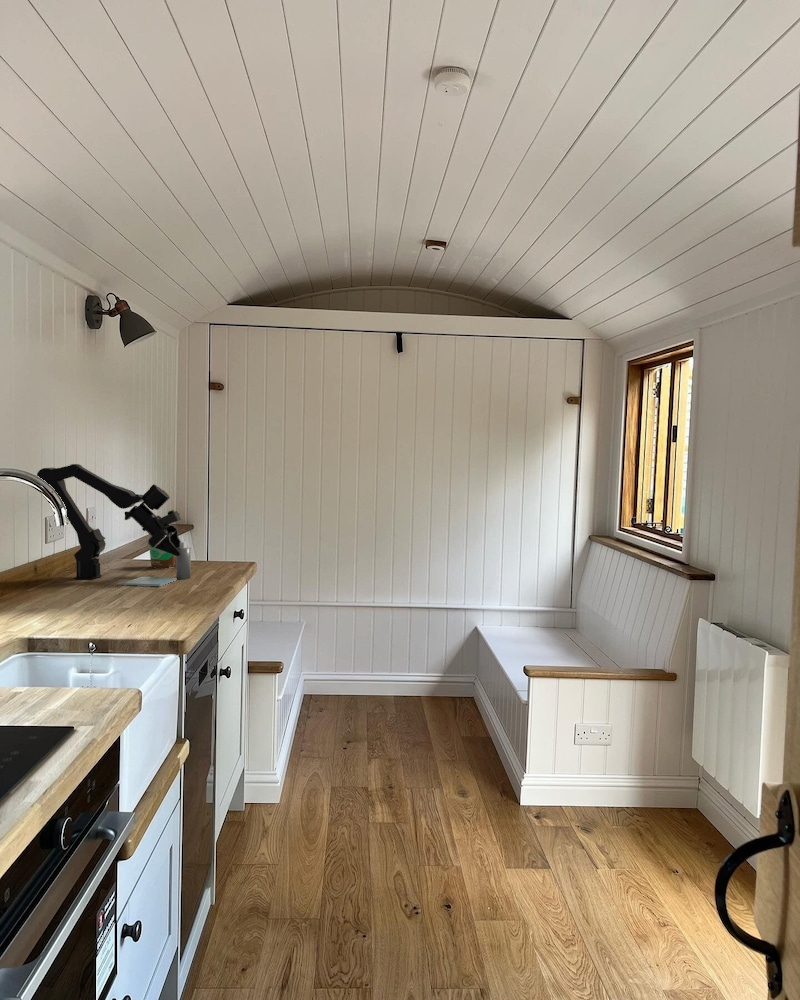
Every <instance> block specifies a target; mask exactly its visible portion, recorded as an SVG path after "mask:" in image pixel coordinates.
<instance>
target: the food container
mask: <svg viewBox="0 0 800 1000" xmlns="http://www.w3.org/2000/svg"><path fill="white" fill-rule="evenodd" d="M157 545H158V544H156V546H157ZM146 546H147V547H148V548H149V558H150V567H151V566H152V567H156V568H169V567H176V555H173V554H170V553H168V552H165V551H162V550H159V549H156V548H155V547H156V546H155V547H151V546H150V545H149V540H148V541H147V545H146ZM152 567H151V568H152Z"/></svg>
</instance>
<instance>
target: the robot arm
mask: <svg viewBox="0 0 800 1000" xmlns="http://www.w3.org/2000/svg"><path fill="white" fill-rule="evenodd" d="M36 476H39V477H40V478H42V479H43V480H45V481H46V482H47V483H48V484H50V485H51V486H52V487H53V488H54V489H55V491H56V492H57V493H58V495H59V496H60V497H61V499H62V501H63V502H64V504H65V506H66V509H67V517H68V518H67V517H66V518H67V520H68V521H69V523H70V525H71V526H72V528H73V529H74V531H75V532H76V535H77V541H78V544H79V546H80V548H79V549H78V550H77V551H76V552H74V554H73V556H74V559H75V561H76V562H75V566H76V567H75V569H76V573H75V574H76V575H75V576H74V577H73V579H76V580H77V579H78V580H80V579H81V580H93V579H97V578H100V577H102V574H101V563H100V559H99V557H100V554H101V553H102V552H103V551H104V550H105V548H106V541H105V540H106V537H105V536H103V534H102V533H101V530H100V529H99V528H96V529H93V527H91V526H90V524H89V523H88V522H87V520H86V519H85V517H84V515H83V513H82V512H81V510H80V509H79V507H78V506H77V505H76V503H75V501H74V499H73V498H72V497H71V495H70V493H69V492H68V489H67V486H66V482H65V481H66V479H71V478H75V479H76V480H79V482H83V483H84V484H86V485H87V486H89V487H91V488H92V489H94V490H96V491H98V492H100V493H102V494H103V495H105V497H106V498H108V500H109V501H110V502H112V504H114V505H115V506H116V507H118V508H119V509H125V510H126V509H128V508H131V509H130V510H129V511H124V521H128V520H131V519H133V520H134V521H135V522H136V523H137V524H138V525H139V526H141V530H142V531H143V532H146V533H147V534H148V535H150V538H149V539H148V541H149V545H150V546H151V547H155V546H156V544H158V545H157V546H156V547H155V548H156V549H159V550H162V551H165V552H168V553H170V554H173V555H176V556H179V555H180V553H179V551H178V550H177V549H176V548H178V547H180V542H182V541H181V540H180V537H179V530H180V529H179V527H178V526H177V525H176V524H172V523H176V522H178V521H181V520H182V518H181V516H180V512H178V510H174V509H171V510H169V511H167V514H166V515H165V516H162V517H161V516H160V515H156V514H155V513H154V512H153V511H154V510H156V511H158V510H159V509H161V507H163V505H164V504H165V503H167V502H168V500H170V499H171V496H170V495H169V494H168V493H167V491H165V490H163V489H162V488H161V487H159V486H157V485H156V484H152V485H151V486H150V487H149V488H148V490H147V491H146V492H145V493H144V494H137V493H135V491H133V490H130V489H128V488H125V487H122V486H119V485H116V484H113V483H111V482H110V481H108V480H106V479H104V478H102V477H101V476H99V475H98V474H95V473H94V472H92V471H91V470H89V469H86V468H85V467H84V466H83V465H81V464H79V463H72V464H69V465H66V466H62V467H57V468H56V467H43V468H41V469H39V470H38V472H37V473H36ZM138 503H140V504H139V505H137V504H138Z"/></svg>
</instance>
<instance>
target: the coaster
mask: <svg viewBox="0 0 800 1000" xmlns="http://www.w3.org/2000/svg"><path fill="white" fill-rule="evenodd" d="M176 580H178V579H177V578H176V577H161V576H160V577H158V576H141V577H137V578H134V579H131V580H128V581H127V580H126V581H125V582H123V586H127V585H137V586H136V587H150V586H161V587H164V586H166V585H169V584H171V583H170V582H172V583H174V582H176ZM173 581H174V582H173ZM168 583H169V584H168ZM165 584H166V585H165ZM163 585H164V586H163Z"/></svg>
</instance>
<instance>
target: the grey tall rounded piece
mask: <svg viewBox="0 0 800 1000" xmlns="http://www.w3.org/2000/svg"><path fill="white" fill-rule="evenodd" d="M176 549H177V550H178V551H179V553H180V555H179V556H176V568H175V573H176V574H175V576H176V577H175V578H178V579H177V580H187V579H186V578H190V579H191V577H192V576H191V575H192V573H191V569H192V568H191V567H192V566H191V565H192V564H191V563H192V562H191V559H192V558H191V557H192V556H191V555H192V553H191V552H192V551H191V549H192V548H191V547H188V542H187V541H181V542H180V547H178V548H176Z"/></svg>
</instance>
